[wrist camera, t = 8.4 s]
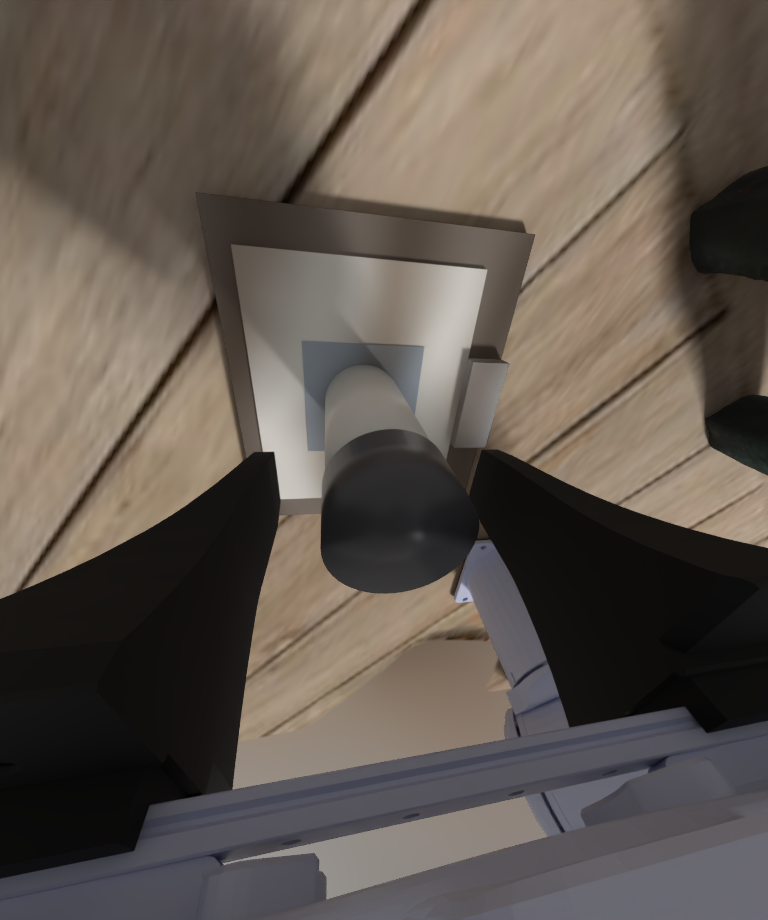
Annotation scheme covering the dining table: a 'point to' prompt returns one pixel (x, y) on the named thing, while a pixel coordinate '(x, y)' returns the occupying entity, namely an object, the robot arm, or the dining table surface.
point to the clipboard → (358, 324)
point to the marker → (387, 491)
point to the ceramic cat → (746, 254)
